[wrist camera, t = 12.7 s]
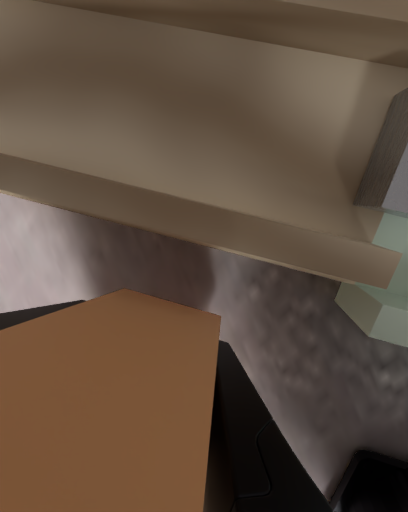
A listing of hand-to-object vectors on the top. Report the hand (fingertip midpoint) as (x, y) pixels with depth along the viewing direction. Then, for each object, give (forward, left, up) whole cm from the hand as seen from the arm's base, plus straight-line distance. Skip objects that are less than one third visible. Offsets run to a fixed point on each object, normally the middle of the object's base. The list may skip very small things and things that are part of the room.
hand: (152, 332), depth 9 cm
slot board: (+8, +1, -4) cm, 8 cm away
